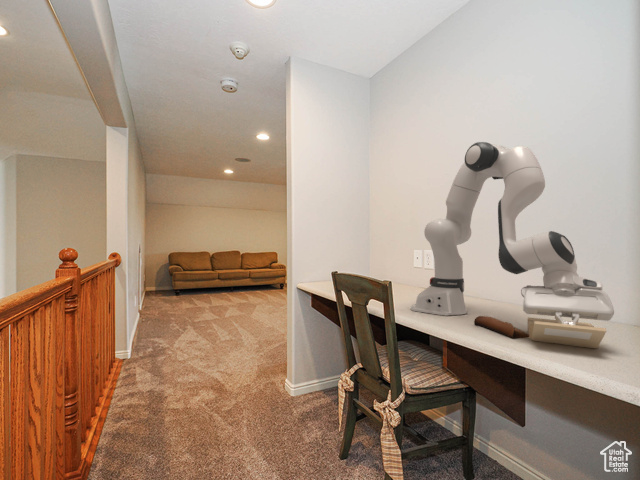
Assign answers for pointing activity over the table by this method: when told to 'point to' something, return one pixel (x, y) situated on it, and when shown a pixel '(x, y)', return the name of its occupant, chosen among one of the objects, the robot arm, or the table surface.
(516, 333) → the brown tapered cylinder
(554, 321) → the carton
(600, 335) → the flap
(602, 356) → the table surface
